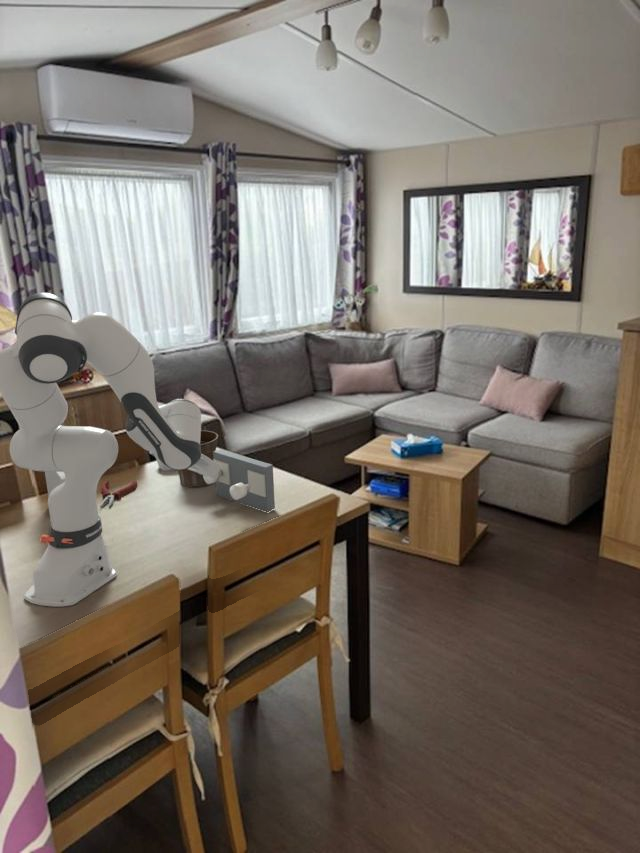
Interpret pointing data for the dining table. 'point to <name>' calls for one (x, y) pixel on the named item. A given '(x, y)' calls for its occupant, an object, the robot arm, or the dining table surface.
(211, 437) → the plant pot
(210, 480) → the knob left
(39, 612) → the dining table surface
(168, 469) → the ramekin
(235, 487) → the knob right
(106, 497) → the pliers
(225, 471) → the mount
